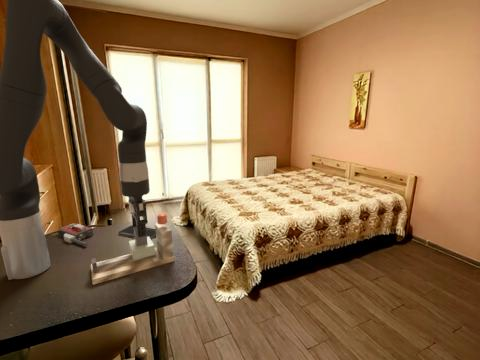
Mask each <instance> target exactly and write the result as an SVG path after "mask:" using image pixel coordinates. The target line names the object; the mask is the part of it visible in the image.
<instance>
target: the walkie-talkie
mask: <svg viewBox="0 0 480 360" xmlns="http://www.w3.org/2000/svg"><path fill="white" fill-rule="evenodd" d="M57 234H59V235H60V236H61V237H63V239H64V242H66V243H69V244H72V243H75V244H78V245H83V246H88V243H87V242H84V241H81V240H83V239H85V238H88V237H91V236H93V235H94V229H93V227H89V226H85V225H83V224H80V223H70V224H67V225H65V226H62V227H60V228H59V230H57Z"/></svg>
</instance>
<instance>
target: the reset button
mask: <svg viewBox="0 0 480 360" xmlns="http://www.w3.org/2000/svg"><path fill="white" fill-rule="evenodd" d="M156 219H157V223H158V224H167V223H168V215H167V214H166V213H159V214H157V217H156Z"/></svg>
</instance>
